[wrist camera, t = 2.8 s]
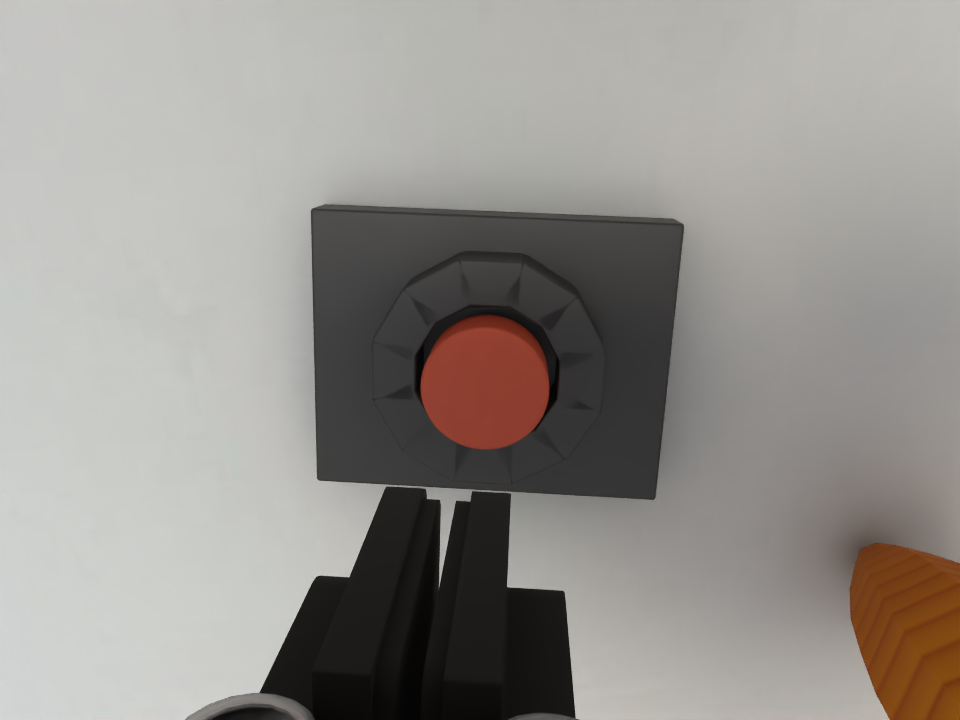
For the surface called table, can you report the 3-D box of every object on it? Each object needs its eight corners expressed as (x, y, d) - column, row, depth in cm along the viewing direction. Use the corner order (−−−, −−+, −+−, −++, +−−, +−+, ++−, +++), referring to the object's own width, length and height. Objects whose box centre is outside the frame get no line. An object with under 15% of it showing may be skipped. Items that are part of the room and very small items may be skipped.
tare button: (551, 316, 20) (553, 330, 19) (544, 432, 21) (545, 453, 20) (428, 310, 21) (421, 324, 19) (426, 425, 21) (419, 447, 20)
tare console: (675, 218, 22) (697, 230, 19) (648, 480, 24) (664, 527, 21) (322, 204, 23) (293, 213, 20) (327, 462, 25) (301, 505, 22)
